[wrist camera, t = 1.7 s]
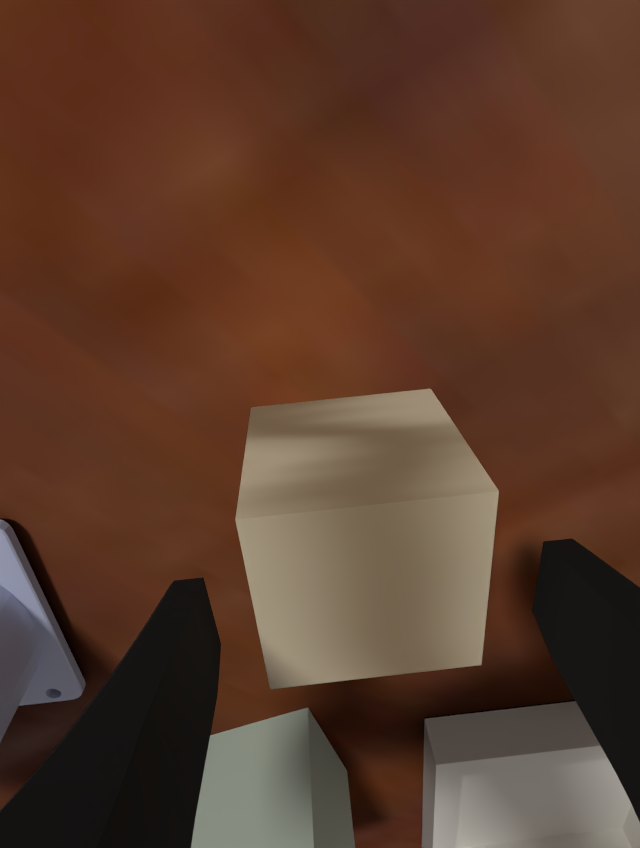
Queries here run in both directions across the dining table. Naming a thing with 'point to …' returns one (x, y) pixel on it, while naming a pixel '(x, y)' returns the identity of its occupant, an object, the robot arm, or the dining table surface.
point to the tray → (522, 782)
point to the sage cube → (274, 788)
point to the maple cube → (365, 538)
